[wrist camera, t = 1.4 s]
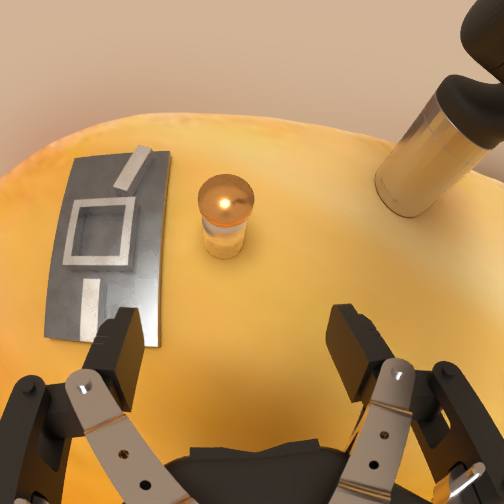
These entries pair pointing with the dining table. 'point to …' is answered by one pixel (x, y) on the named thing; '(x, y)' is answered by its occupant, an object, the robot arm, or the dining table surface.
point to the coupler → (225, 213)
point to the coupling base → (109, 245)
